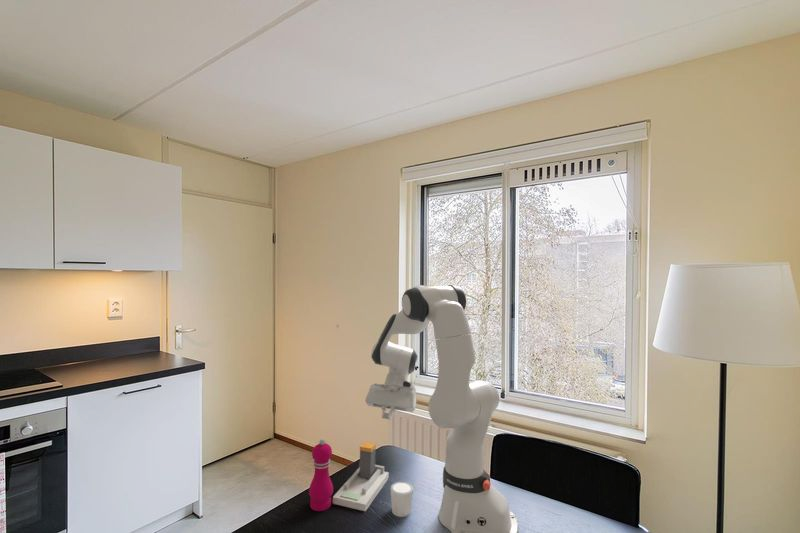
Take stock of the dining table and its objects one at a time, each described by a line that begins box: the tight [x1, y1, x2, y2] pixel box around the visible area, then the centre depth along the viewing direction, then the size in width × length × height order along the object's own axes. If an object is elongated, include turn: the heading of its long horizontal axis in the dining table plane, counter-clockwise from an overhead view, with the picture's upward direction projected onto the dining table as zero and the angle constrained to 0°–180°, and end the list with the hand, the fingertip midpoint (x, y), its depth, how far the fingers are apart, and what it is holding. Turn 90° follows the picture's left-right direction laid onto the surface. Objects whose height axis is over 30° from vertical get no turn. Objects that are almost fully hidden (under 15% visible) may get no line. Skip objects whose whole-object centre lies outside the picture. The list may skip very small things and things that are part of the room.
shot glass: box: [390, 481, 414, 518], centre depth 115 cm, size 7×7×7 cm
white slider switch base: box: [332, 462, 390, 512], centre depth 125 cm, size 11×20×4 cm, turn 161°
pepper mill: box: [308, 438, 334, 512], centre depth 117 cm, size 7×7×20 cm
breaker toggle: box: [359, 441, 377, 479], centre depth 130 cm, size 4×4×10 cm
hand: (385, 418), depth 146 cm, fingers closed
